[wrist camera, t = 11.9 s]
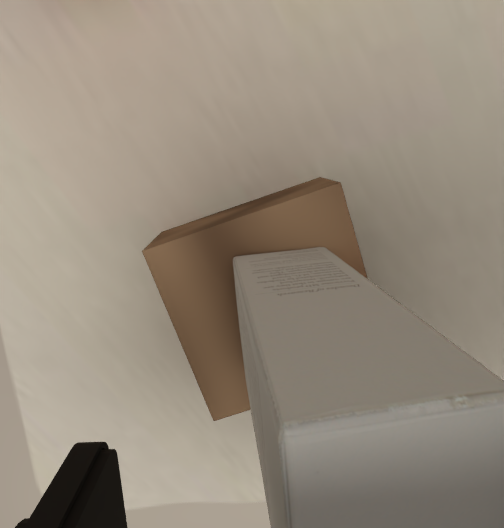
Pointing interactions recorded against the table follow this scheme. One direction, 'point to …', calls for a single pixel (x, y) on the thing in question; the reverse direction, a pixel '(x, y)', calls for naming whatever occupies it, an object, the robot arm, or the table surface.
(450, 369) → the skincare box
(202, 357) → the walnut block
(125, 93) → the table surface
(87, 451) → the robot arm
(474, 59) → the table surface
